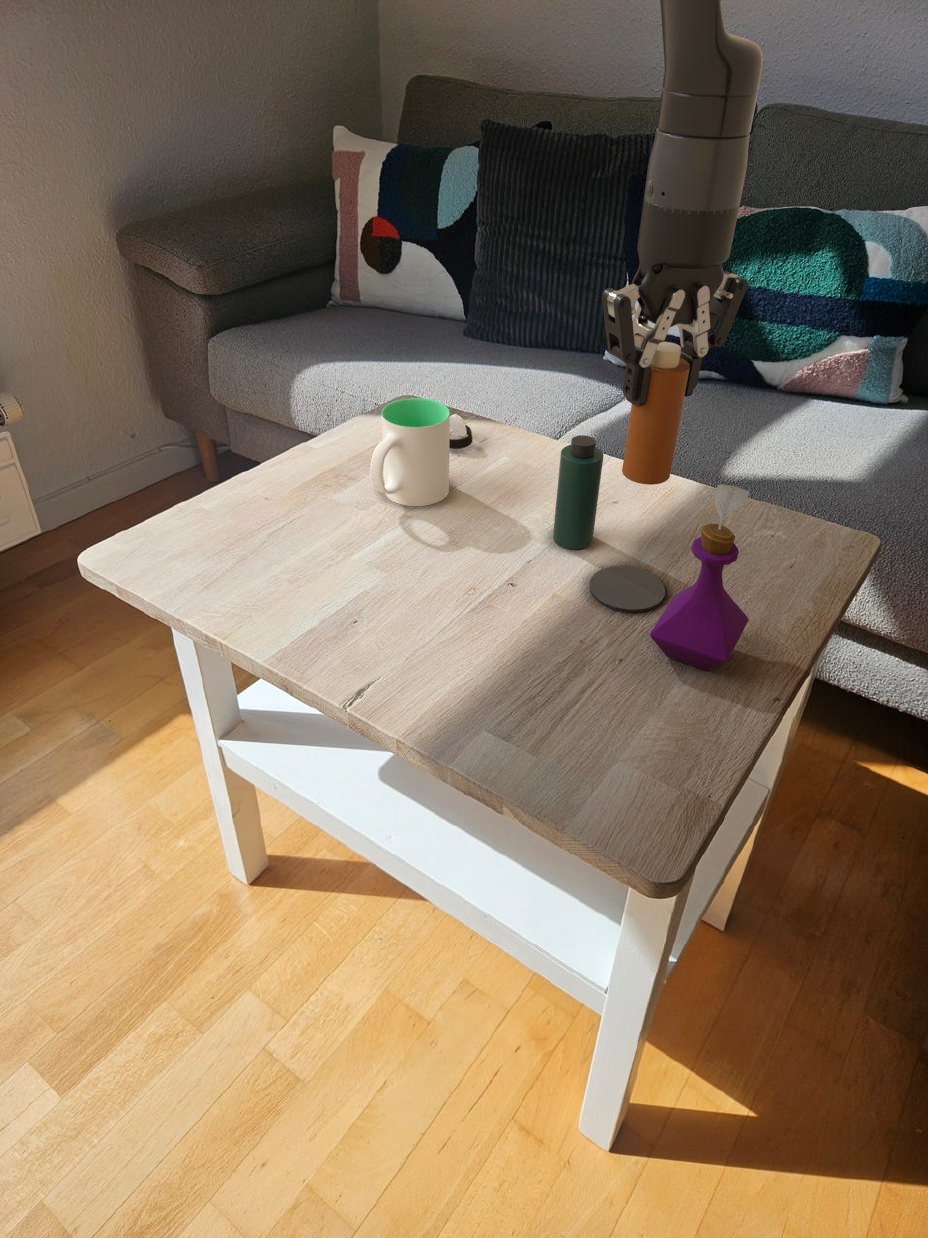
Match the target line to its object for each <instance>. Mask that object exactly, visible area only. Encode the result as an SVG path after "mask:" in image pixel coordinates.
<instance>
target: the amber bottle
mask: <svg viewBox="0 0 928 1238" xmlns="http://www.w3.org/2000/svg"><path fill="white" fill-rule="evenodd" d="M681 350H682V347H681V345H679V344H677V343H675V342H670V341H663V342H662V343H659V345H658V347H657V349H656V351H655V354H654V356H653V359H652V361H651V363H650V365H649V366H650V367H651V373H650V379H649V386H648V392H647V399H646V404H645V405H643V406H638V407H636V406H635V405H633V404H632V403H631V405H630V406H631V407H630V411H629V412H630V413H629V419H628V425H627V426H628V427H627V434H626V440H625V446H624V447H625V448H624V453H623V454H624V455H623V461H622V462H623V463H622V468H621V473H622V475H623V476H624V477H625V478H626V479H628V480H629V481H631V482H634V483H636V484H641V485H648V486H649V485H651V486H652V485H653V486H654V485H661V484H663V483H665V482H667V481H669V479H670V477H671V472H672V467H673V462H674V456H675V450H676V445H677V439H678V435H679V428H680V423H681V417H682V413H683V407H684V402H685V398H686V397H685V391H686V386H687V380H688V375H689V369H690V365H689V363H688V362H687V361H686V360H684V359H682V358H680V354H681Z"/></svg>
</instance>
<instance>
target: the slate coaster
mask: <svg viewBox="0 0 928 1238" xmlns="http://www.w3.org/2000/svg"><path fill="white" fill-rule="evenodd" d="M588 589H589V592H590V594H591V596H592V597H593V598H594V599H595V600H596V601H597V602H598V603H600V604H601V605H603V606H605V607H607V608H609V609H612V610H614V611H618V612H624V613H643V612H644V613H645V612H648V611H651V610H654V609H655V608H657V607H659V606H660V605H661V604H662V603H663V601H664V599H665V596H666V587H665V585H664V583H663V582H662V580H661V579H660V578H658V577H657V576H656V575H655V574H653V573H652V572H650V571H648V570H645V569H643V568H640V567H636V566H631V565H630V566H629V565H613V566H612V565H611V566H607V567H605V568H604V567H603V568H602V569H599V570H598V571H596V572H595V573H594V574H593V575H592V576H591V578H590V580H589V584H588Z"/></svg>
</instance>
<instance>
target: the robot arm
mask: <svg viewBox="0 0 928 1238" xmlns="http://www.w3.org/2000/svg"><path fill="white" fill-rule="evenodd" d="M659 5H660V15H661V33H662V44H663V45H662V46H663V47H662V48H663V58H664V59H663V60H664V68H663V69H664V72H663V79H662V80H663V81H662V85H661V87H662V88H661V95H660V102H659V109H658V117H657V124H656V128H655V129H656V130H655V135H654V140H653V143H652V147H651V151H650V155H649V159H648V165H647V172H646V180H645V188H644V193H643V200H642V201H643V202H642V208H641V217H640V223H639V224H640V225H639V230H638V231H639V232H638V239H637V247H636V248H637V249H636V250H637V254H638V260H639V265H638V268H637V271H636V273H635V275H634V276H633V279H632V281H631V284H629V285H627V286H625V287H623V288H620V289H618V290H615V289H614V288H612V287H608V288H606V289H605V290H603V293H602V296H601V301H602V310H603V318H604V328H605V336H606V344H607V351H608V354H610V355H612V356H613V357H615V358H616V359H618V360H619V361H621V362H623V363H624V364H625V371H624V377H623V384H622V395H623V396H624V397H625V400H627V402H628V403H630V404H631V405H632V404H633V405H635V406H636V407H638V406H643V405H645V404H646V399H647V392H648V386H649V379H650V373H651V367H650V366H649V365H650V363H651V361H652V359H653V356H654V354H655V351H656V349H657V347H658V345H659V343H662V342H665V341H666V338H667V335H668V333H669V331H670V328H672V327H675V326H677V328H678V331H679V340H680V347H681V354H680V358H682V359H684V360H686V361H687V362H688V363H689V365H690V369H689V375H688V380H687V386H686V391H685V397H684V398H687V397H690V396H693V394H694V390H695V389H696V388H697V385H698V383H699V378H700V373H701V368H702V362H703V359H704V357H705V356H706V355H707V354H708V352H709V350H710V349H712V348H714V347H715V348H721V347H723V346H724V344H725V343H726V341H727V338H728V336H729V333H730V330H731V328H732V326H733V323H734V321H735V319H736V316H737V313H738V311H739V309H740V306H741V303H742V301H743V299H744V297H745V294H746V291H747V289H748V288H749V287H748V286H749V280H748V279H746V278H743V277H741V276H739V275H737V274H735V273H733V272H729V271H724V268H723V264H725V262H727V260H728V259H729V258H730V256H731V251H732V246H733V242H734V241H733V240H734V237H735V230H736V225H737V220H738V216H739V215H738V214H739V211H740V205H741V201H742V194H743V190H744V185H745V180H746V176H747V175H746V174H747V169H748V159H749V146H750V138H751V134H750V133H751V132H752V126H753V121H754V117H755V111H756V106H757V101H758V96H759V91H760V84H761V80H762V73H763V65H764V57H763V56H764V55H763V51H762V49H761V47H760V46H759V45H758V44H757V43H756V42H754V41H753V40H750V39H748V38H746V37H741V36H738V35H734V34H732V33H729V32H727V30H726V26H725V22H724V16H723V11H722V0H659ZM636 303H638V305H637V308H636ZM718 319H719V320H718ZM717 320H718V323H717ZM649 322H651V323H652V324H654V326H653V327H652V326H650V325H649ZM716 324H717V325H716ZM715 326H716V327H715ZM714 328H715V329H714Z"/></svg>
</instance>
